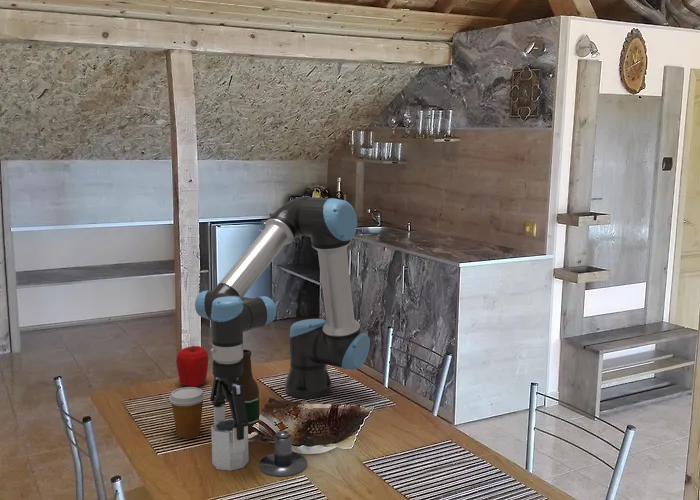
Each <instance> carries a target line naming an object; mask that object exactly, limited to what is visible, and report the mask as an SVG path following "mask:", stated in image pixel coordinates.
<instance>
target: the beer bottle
mask: <svg viewBox="0 0 700 500" xmlns="http://www.w3.org/2000/svg"><path fill="white" fill-rule="evenodd" d="M251 356H252V351H251V350H250V349H243V358H242V360H243V374H242V375H241V376H239V377H238V378H237V382H238V385H242V386H243V395H244V401H245V407H246V412H247V418H248V423H249V425H248V434H251V433H252V432H254V429H253V428H252V426H253V425H254V424H256V423H257V422H259V417H260V413H261V411H260V390H259V386H258V383H257V382H256V380H255V379H254V377H253V369H252V359H251ZM231 418H233V417H232V416H231Z"/></svg>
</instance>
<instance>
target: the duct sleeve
mask: <svg viewBox="0 0 700 500" xmlns="http://www.w3.org/2000/svg"><path fill="white" fill-rule="evenodd" d="M233 425H234V421H233V418H232V417H229V418H225V419H223V420H219V421H217V422H215V423H214V422H213V424H212V425H211V426H210V432H211V462H212V465H213V466H214V467H215V468H216V469H217V470H221V471H226V472H228V471H229V472H231V471H235V470H238V469H239V470H240V469H243V468H244V467H245V466H246V465H247V464H248V463H249V461H250V460H249V457H250V455H249V439H248V426H245V450H244V451H239V452H235V453H234V452H233V428H232V426H233Z"/></svg>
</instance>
